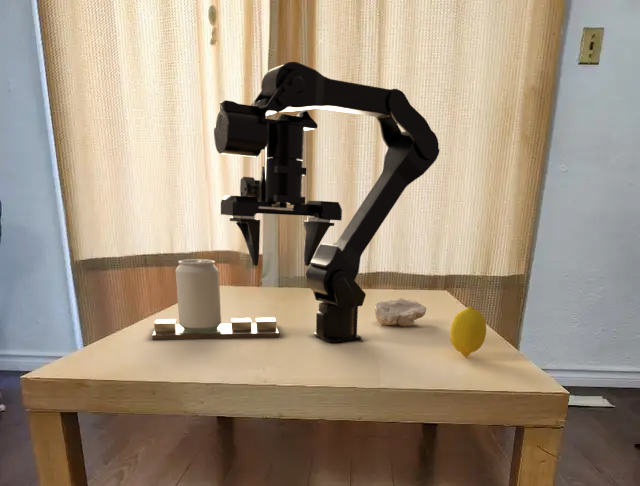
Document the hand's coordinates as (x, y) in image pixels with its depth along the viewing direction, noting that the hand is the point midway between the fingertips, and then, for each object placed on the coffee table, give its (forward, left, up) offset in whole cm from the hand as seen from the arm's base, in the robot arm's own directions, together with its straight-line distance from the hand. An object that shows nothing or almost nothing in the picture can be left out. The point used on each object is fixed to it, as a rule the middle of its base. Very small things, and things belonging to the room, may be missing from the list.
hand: (281, 265), depth 93 cm
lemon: (-23, +20, -13) cm, 33 cm away
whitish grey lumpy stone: (-29, -6, -13) cm, 32 cm away
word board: (+7, -13, -13) cm, 20 cm away
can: (+10, -14, -12) cm, 21 cm away
